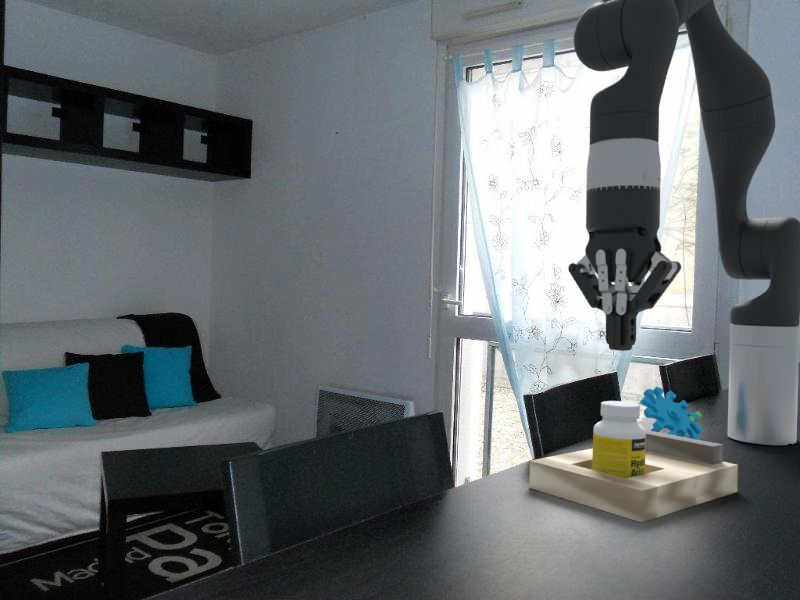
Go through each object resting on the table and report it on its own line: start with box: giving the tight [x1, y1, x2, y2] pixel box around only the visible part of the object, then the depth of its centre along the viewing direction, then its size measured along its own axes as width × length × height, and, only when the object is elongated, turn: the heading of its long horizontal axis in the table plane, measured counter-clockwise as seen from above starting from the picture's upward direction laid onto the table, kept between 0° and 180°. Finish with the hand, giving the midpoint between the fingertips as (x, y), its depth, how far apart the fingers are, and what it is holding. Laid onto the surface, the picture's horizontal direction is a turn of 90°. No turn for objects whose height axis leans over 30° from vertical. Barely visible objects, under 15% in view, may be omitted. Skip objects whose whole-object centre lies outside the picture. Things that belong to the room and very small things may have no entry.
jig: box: [528, 429, 739, 523], centre depth 77 cm, size 18×14×5 cm
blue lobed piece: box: [640, 386, 703, 440], centre depth 105 cm, size 11×6×10 cm
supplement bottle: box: [592, 400, 646, 478], centre depth 75 cm, size 5×5×10 cm
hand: (620, 349), depth 75 cm, fingers closed
